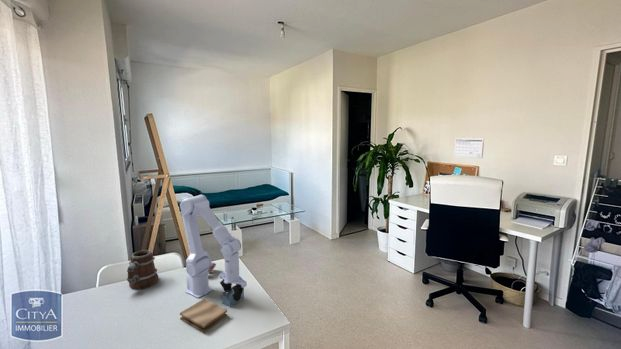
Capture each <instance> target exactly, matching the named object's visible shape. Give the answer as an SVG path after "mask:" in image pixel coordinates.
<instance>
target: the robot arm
mask: <svg viewBox="0 0 621 349" xmlns="http://www.w3.org/2000/svg"><path fill="white" fill-rule="evenodd" d="M179 208H180V212H181V217H182V223H183V228H184V231H185V236H186V241H187V245H188V251H189V255H188V257H187V258H186V260H185V262H186V265H185V266H186V267H185V271H186V273H187V275H186V290H185V293H187V294H189V295H192V296H193V297H195V298H198V299H199V298H201V297H203V296H205V295H206V294H208V293H210V292H211V291H213V290H214V289H213V287H210V285H209V274H208V271H209V268H210V266H211V262H212V259H211V258H210V256H209V252H207V251H205V250H204V249H203V246H202V245H203V244H202V240H201V235H200V231H199V226H198V221H197V216H201V217H202V218H203V220H204V221H205V222H206V223H207V224H208V225H209V226H210V228H211V229H212V236H213V237H214V238H215V239H216V241H217V242H218V244H219V245H220V246H221V248H220V252H221V254H222V255H223V259H224V271H225V272H221V273H219V274H218V276H219V277H218V278H219V279H222V280H220V281H219V284H220V285H221V287H222V288H223V292H225V291H226V290H228V289H230V288H231V287H232V289H233V290H234V293H235V300H236V301H238V300H240V298H241V294H242V291H243V289H244V288H246V287H247V286H248V284H247V280H244V279H243V278H242V277H241V276H240V256H239V253H240V252H239V251H240V250H241V249H242V243H241V241H240V240H239V239H238V237H237V238H236V237H235V236H232V234H231V233H230V232H229V230H228V228H227V227H226V225H223V224H221V223H220V222H219V221H218V219H217V217H216V216H215V214H214V212H213V211H212V209H211V207H210V200H208V199H207V196H206V195H204V194H198V195H195V196H191V197H188V198H183V199H182V201H181V202H180V203H179ZM233 286H234V287H233ZM244 290H245V289H244ZM240 301H241V300H240Z"/></svg>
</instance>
